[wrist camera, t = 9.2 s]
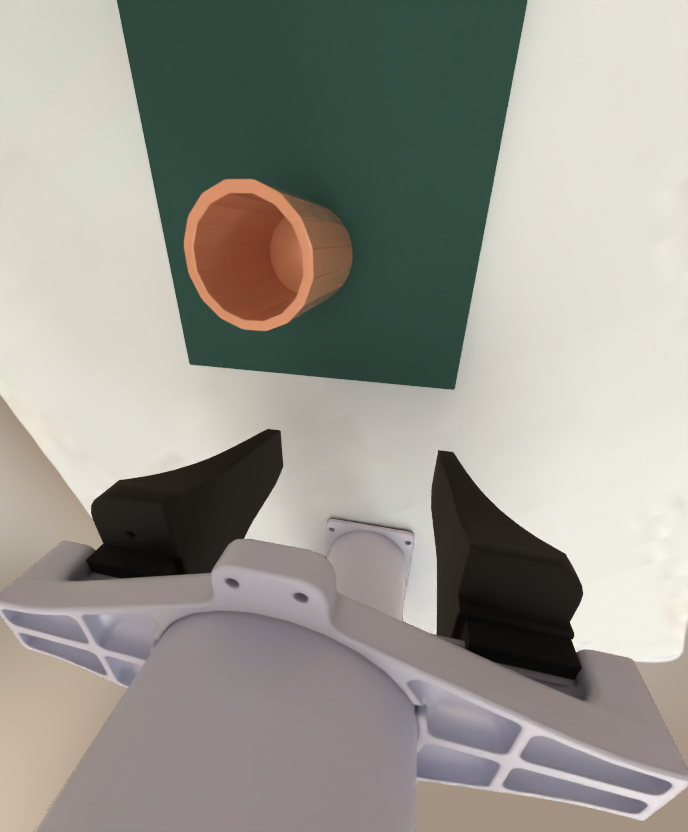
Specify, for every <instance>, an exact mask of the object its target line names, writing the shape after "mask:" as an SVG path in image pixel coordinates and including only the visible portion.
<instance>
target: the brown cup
mask: <svg viewBox="0 0 688 832" xmlns="http://www.w3.org/2000/svg"><path fill="white" fill-rule="evenodd" d="M188 216H189V217H188V218H187V225H186V231H185V238H184V251H185V256H186V262H187V268H188V273H189V276H190V277H191V279H192V281H193V283H194V285H195V287H196V289H197V291H198V293H199V295H200V297H201V298H202V300H203V301H204V302H205V303H206V304H207V305H208V306H209V307H210V308H211V309H212V310H213V311H214V312H215V313H216V314H217V315H218V316H219V317H220V318H221V319H223V320H225V321H227V322H229V323H231V324H233V325H235V326H237V327H239V328H241V329H244V330H256V331H268V330H271V329H274V328H276V327H279V326H281V325H284V324H287V323H288V322H290V321H292V320H293V319H295V318H297V317H298V316H300V315H302V314H303V313H305V312H307V311H308V310H310V309H312V308H313V307H315V306H317V305H318V304H320V303H322V302H323V301H325V300H327V299H328V298H330V297H331V296H332V295H333V294H335V293H336V292H337V291H338V290H339V289H340V288H341V287H342V286H343V284H344V283H345V281H346V279H347V277H348V275H349V273H350V270H351V265H352V257H353V253H352V243H351V239H350V236H349V233H348V231H347V229H346V227H345V225H344V224H343V222H342V221H341V219H340V218H339V217H338V216H337V215H336V214H335V213H334V212H332V211H331V210H330V209H328V208H326V207H325V206H322V205H320V204H318V203H316V202H314V201H311V200H309V199H306V198H303V197H301V196H298V195H295V194H292V193H290V192H287V191H284V190H282V189H279V188H276V187H274V186H271V185H268V184H266V183H263V182H260V181H258V180H255V179H226V180H223V181H221V182H220V183H218V184H216V185H214V186H213V187H211V188H209V189H208V190H206V191H204V192H203V193H202V194H201V196H200V197H199V199H198V201H197V202H196V204H195V205H194V207H193V209H192V210H191V212H190V214H189V215H188Z"/></svg>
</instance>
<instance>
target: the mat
mask: <svg viewBox="0 0 688 832" xmlns="http://www.w3.org/2000/svg"><path fill="white" fill-rule="evenodd" d="M117 3H118V8H119V13H120V18H121V23H122V28H123V33H124V38H125V43H126V48H127V53H128V58H129V63H130V68H131V73H132V78H133V83H134V88H135V93H136V98H137V103H138V108H139V113H140V118H141V123H142V128H143V133H144V138H145V143H146V148H147V153H148V158H149V163H150V168H151V173H152V178H153V183H154V188H155V193H156V198H157V203H158V208H159V213H160V218H161V223H162V228H163V233H164V238H165V243H166V248H167V253H168V258H169V263H170V268H171V273H172V278H173V283H174V288H175V293H176V298H177V303H178V308H179V313H180V318H181V323H182V328H183V333H184V338H185V343H186V348H187V353H188V358H189V363H190V364H191V365H202V366H212V367H222V368H233V369H243V370H254V371H264V372H275V373H285V374H296V375H306V376H316V377H327V378H337V379H348V380H358V381H369V382H379V383H390V384H400V385H410V386H421V387H431V388H442V389H452V390H454V388H455V383H456V378H457V372H458V367H459V362H460V356H461V351H462V346H463V340H464V335H465V330H466V324H467V319H468V314H469V309H470V303H471V298H472V293H473V287H474V282H475V277H476V271H477V266H478V261H479V255H480V250H481V245H482V239H483V234H484V229H485V223H486V218H487V213H488V207H489V202H490V197H491V191H492V186H493V181H494V175H495V170H496V165H497V159H498V154H499V149H500V143H501V138H502V133H503V127H504V122H505V117H506V111H507V106H508V101H509V96H510V90H511V85H512V80H513V74H514V69H515V64H516V58H517V53H518V48H519V42H520V37H521V32H522V26H523V21H524V16H525V10H526V5H527V0H117ZM226 179H255V180H258V181H260V182H263V183H266V184H268V185H271V186H274V187H276V188H279V189H282V190H284V191H287V192H290V193H292V194H295V195H298V196H301V197H303V198H306V199H309V200H311V201H314V202H316V203H318V204H320V205H322V206H325V207H326V208H328V209H330V210H331V211H332V212H334V213H335V214H336V215H337V216H338V217H339V218H340V219H341V221H342V222H343V224H344V225H345V227H346V229H347V231H348V233H349V236H350V239H351V243H352V253H353V257H352V265H351V270H350V273H349V275H348V277H347V279H346V281H345V283H344V284H343V286H342V287H341V288H340V289H339V290H338V291H337V292H336V293H335V294H333V295H332V296H331V297H330V298H328V299H327V300H325V301H323V302H322V303H320V304H318V305H317V306H315V307H313V308H312V309H310V310H308V311H307V312H305V313H303V314H302V315H300V316H298V317H297V318H295V319H293V320H292V321H290V322H288V323H287V324H284V325H281V326H279V327H276V328H274V329H271V330H268V331H256V330H244V329H241V328H239V327H237V326H235V325H233V324H231V323H229V322H227V321H225V320H223V319H221V318H220V317H219V316H218V315H217V314H216V313H215V312H214V311H213V310H212V309H211V308H210V307H209V306H208V305H207V304H206V303H205V302H204V301H203V300H202V298H201V297H200V295H199V293H198V291H197V289H196V287H195V285H194V283H193V281H192V279H191V277H190V276H189V273H188V268H187V262H186V256H185V251H184V238H185V231H186V225H187V218H188V217H189V216H188V215H189V214H190V212H191V210H192V209H193V207H194V205H195V204H196V202H197V201H198V199H199V197H200V196H201V194H202V193H203V192H204V191H206V190H208V189H209V188H211V187H213V186H214V185H216V184H218V183H220V182H221V181H223V180H226Z"/></svg>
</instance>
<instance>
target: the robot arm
mask: <svg viewBox="0 0 688 832" xmlns="http://www.w3.org/2000/svg"><path fill="white" fill-rule="evenodd" d="M282 468H283V457H282V444H281V431H280V430H272V429H267V430H265V431H263V432H261V433H259V434H257V435H255V436H253V437H251V438H250V439H248V440H246V441H244V442H242V443H240V444H238V445H237V446H235V447H233V448H230V449H228V450H226V451H224V452H222V453H220V454H218V455H216V456H214V457H211V458H209V459H206V460H204V461H201V462H198V463H195V464H192V465H189V466H186V467H183V468H179V469H176V470H172V471H168V472H164V473H160V474H155V475H150V476H145V477H138V478H132V479H125V480H119V481H118V482H116V483H115V484H114V485H113V486H111V487H110V488H109V489H108V490H106V491H105V492H104V493H103V494H101V495H100V496H99V497H98V498H96V499H95V500H94V501H93V503H92V505H91V514H92V518H93V521H94V523H95V525H96V528H97V530H98V532H99V534H100V537H101V539H102V541H103V543H104V544H102V545H101V546H100V547H99V548H98V549H97V550H95V549H93V548H92V547H91V546H88V545H84V544H79V543H75V542H69V541H62V542H61V543H60V544H58V545H57V546H56V547H55V548H54V549H52V550H51V551H50V552H49V553H48V554H46V555H45V556H44V557H43V558H41V559H40V560H39V561H38V562H37V563H36V564H34V565H33V566H32V567H31V568H29V569H28V570H27V571H26V572H25V573H23V574H22V575H21V576H20V577H19V578H17V579H16V580H15V581H14V582H12V583H11V584H10V585H9V586H8V587H7V588H5V589H4V590H3V591H2V592H0V616H1V617H2V618H3V620H4V621H5V622H6V624H7V625H8V626H9V628H10V629H11V630H12V632H13V633H14V634H15V636H16V637H17V639H18V640H19V641H20V643H21V644H22V645H23V647H24V648H27V649H30V650H34V651H37V652H40V653H43V654H47V655H49V656H52V657H55V658H58V659H60V660H63V661H66V662H69V663H71V664H73V665H76V666H78V667H80V668H83V669H85V670H87V671H90V672H92V673H94V674H96V675H99V676H101V677H103V678H105V679H108V680H110V681H112V682H114V683H116V684H119V685H121V686H123V687H125V688H127V690H126V692H125V693H124V695H123V696H122V698H121V699H120V701H119V702H118V704H117V705H116V707H115V709H114V710H113V712H112V713H111V715H110V716H109V718H108V719H107V721H106V722H105V724H104V725H103V727H102V728H101V730H100V731H99V733H98V734H97V736H96V737H95V739H94V740H93V742H92V743H91V745H90V746H89V748H88V749H87V751H86V753H85V754H84V755H83V757H82V758H81V760H80V761H79V763H78V764H77V766H76V767H75V769H74V770H73V772H72V774H71V775H70V777H69V778H68V780H67V781H66V783H65V784H64V786H63V787H62V789H61V790H60V792H59V793H58V795H57V796H56V798H55V799H54V801H53V802H52V804H51V805H50V807H49V808H48V810H47V811H46V813H45V814H44V816H43V818H42V819H41V820H40V822H39V823H38V825H37V826H36V828H35V830H34V831H33V832H416V789H417V785H418V780H421V781H428V782H435V783H441V784H449V785H455V786H462V787H469V788H476V789H483V790H490V791H497V792H504V793H510V794H517V795H525V796H531V797H537V798H543V799H549V800H554V801H561V802H566V803H571V804H575V805H580V806H585V807H589V808H594V809H599V810H603V811H607V812H611V813H614V814H618V815H622V816H626V817H630V818H634V819H637V820H642V821H643V820H645V819H646V818H648V817H649V816H650V815H652V814H653V813H654V812H655V811H657V810H658V809H659V808H661V807H662V806H663V805H665V804H666V803H667V802H668V801H670V800H671V799H672V798H674V797H675V796H676V795H678V794H679V793H680V792H682V791H683V790H684V789H685V788H687V787H688V768H687V766H686V764H685V762H684V760H683V758H682V756H681V754H680V752H679V750H678V748H677V746H676V744H675V742H674V740H673V738H672V736H671V734H670V732H669V730H668V728H667V726H666V724H665V722H664V720H663V719H662V716H661V714H660V712H659V710H658V709H657V706H656V704H655V702H654V700H653V698H652V696H651V694H650V692H649V690H648V689H647V687H646V685H645V683H644V681H643V679H642V677H641V675H640V673H639V671H638V669H637V667H636V665H635V663H634V661H633V660H632V659H630V658H628V657H623V656H618V655H613V654H608V653H604V652H599V651H594V650H581V651H578V652H577V653H576V651H575V649H574V646H573V643H572V641H571V639H573V638H574V632H573V629H572V627H571V624H570V621H571V619H572V617H573V615H574V613H575V611H576V610H577V608H578V606H579V604H580V602H581V599H582V596H583V590H582V585H581V583H580V580H579V578H578V576H577V574H576V572H575V570H574V568H573V566H572V564H571V563H570V561H569V559H568V558H567V556H566V554H565V553H563V552H561V551H559V550H558V549H556V548H554V547H552V546H551V545H549V544H547V543H545V542H543V541H542V540H540V539H539V538H537V537H535V536H534V535H532V534H531V533H529V532H528V531H526V530H525V529H524V528H522V527H521V526H519V525H518V524H517V523H515V522H514V521H513V520H512V519H510V518H509V517H508V516H507V515H505V514H504V513H503V512H502V511H501V510H500V509H499V508H498V507H497V506H495V505H494V504H493V503H492V502H491V501H490V500H489V499H488V498H487V497H486V496H485V495H484V493H483V492H482V491H481V490H480V489H479V488H478V487H477V485H476V484H475V483H474V481H473V480H472V479H471V477H470V476H469V475H468V473H467V472H466V471H465V469H464V468H463V466H462V465H461V463H460V462H459V460H458V459H457V457H456V455H455V454H454V453H453V452H448V451H440V450H438V455H437V460H436V466H435V472H434V477H433V483H432V494H431V510H432V519H433V528H434V536H435V545H436V555H437V635H434V634H430V633H428V632H426V631H423V630H421V629H419V628H417V627H414V626H412V625H410V624H408V623H406V622H403V605H404V599H405V593H406V587H407V580H408V574H409V568H410V562H411V556H412V550H413V544H414V534H413V533H411V532H408V531H402V530H396V529H390V528H384V527H378V526H372V525H366V524H360V523H354V522H349V521H343V520H337V519H329V520H328V522H327V559H326V558H325V557H324V556H323V555H321V554H319V553H316V552H313V551H311V550H307V549H302V548H296V547H291V546H286V545H280V544H275V543H270V542H264V541H259V540H253V539H244V537H245V535H246V533H247V531H248V529H249V527H250V525H251V524H252V522H253V520H254V518H255V517H256V515H257V514H258V512H259V510H260V509H261V507H262V506H263V504H264V502H265V501H266V499H267V498H268V496H269V494H270V493H271V491H272V489H273V488H274V486H275V484H276V482H277V480H278V478H279V476H280V473H281V471H282ZM331 527H332V528H331ZM408 541H409V542H408Z"/></svg>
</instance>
